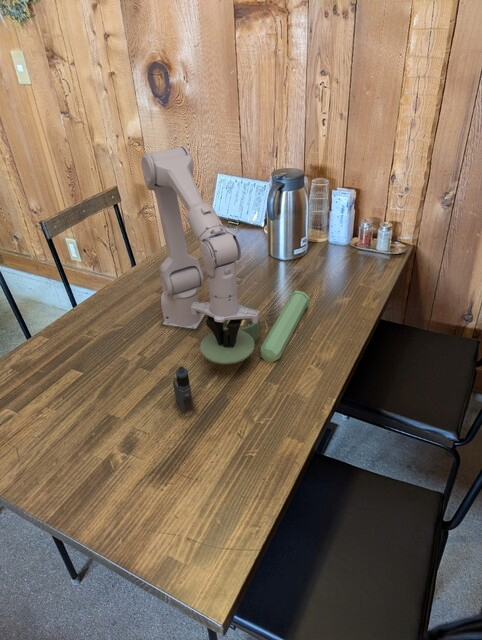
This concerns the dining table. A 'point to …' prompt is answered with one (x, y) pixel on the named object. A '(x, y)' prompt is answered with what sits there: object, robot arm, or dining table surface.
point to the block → (243, 324)
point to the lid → (227, 348)
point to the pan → (252, 329)
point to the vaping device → (183, 390)
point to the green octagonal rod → (284, 326)
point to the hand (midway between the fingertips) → (227, 343)
